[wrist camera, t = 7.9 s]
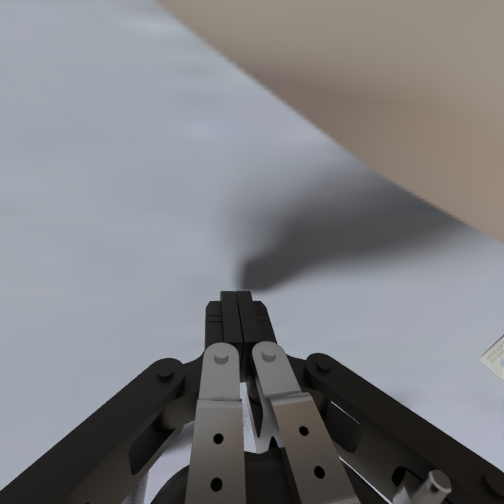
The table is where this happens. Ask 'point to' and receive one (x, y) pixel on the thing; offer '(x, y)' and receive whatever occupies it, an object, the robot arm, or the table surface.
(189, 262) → the table surface
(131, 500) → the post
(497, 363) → the light bulb box
